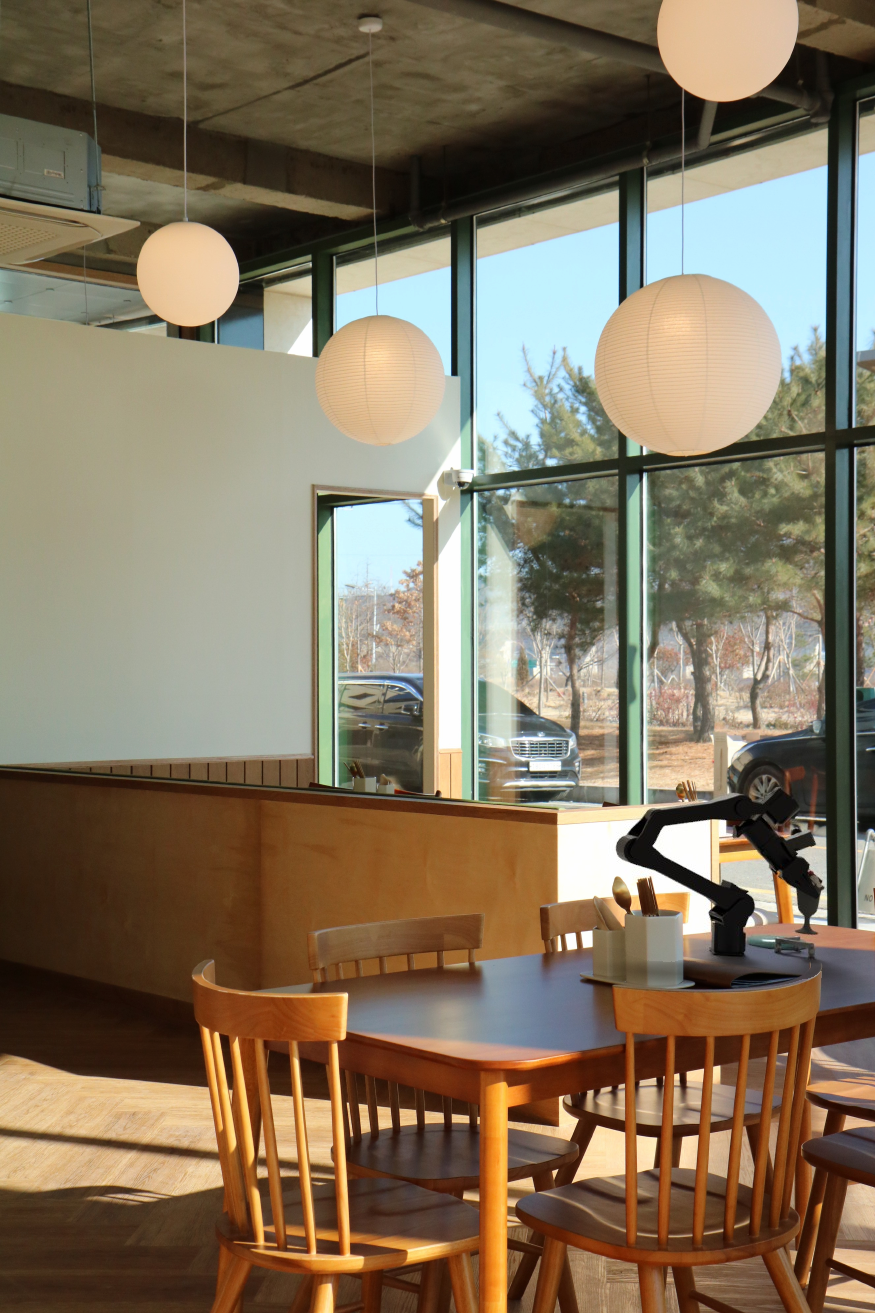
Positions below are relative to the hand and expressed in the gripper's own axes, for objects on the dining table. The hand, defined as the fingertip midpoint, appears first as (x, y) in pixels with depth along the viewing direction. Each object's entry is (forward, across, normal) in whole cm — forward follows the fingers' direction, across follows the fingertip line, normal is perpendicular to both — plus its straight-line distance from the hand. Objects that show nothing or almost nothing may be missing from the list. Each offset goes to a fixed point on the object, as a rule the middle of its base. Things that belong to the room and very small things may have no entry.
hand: (814, 895), depth 286 cm
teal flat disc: (+6, +14, +13) cm, 20 cm away
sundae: (+5, 0, +7) cm, 8 cm away
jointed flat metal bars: (+7, +3, +12) cm, 14 cm away
